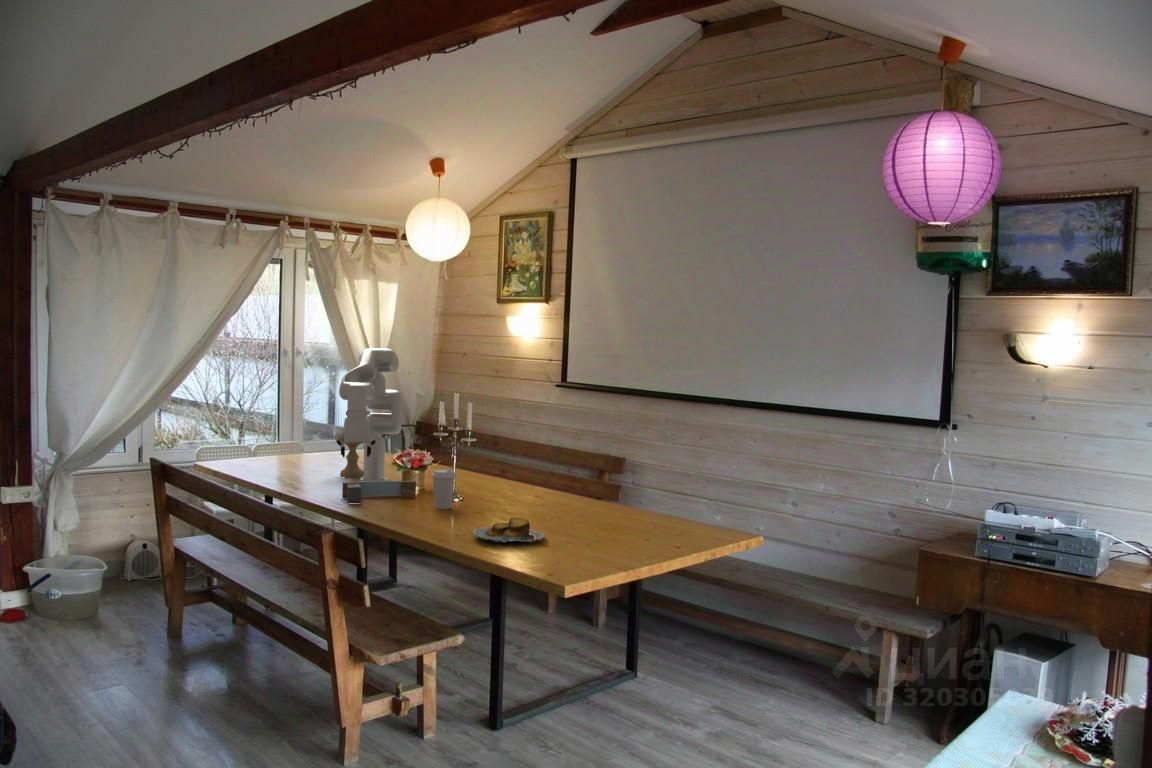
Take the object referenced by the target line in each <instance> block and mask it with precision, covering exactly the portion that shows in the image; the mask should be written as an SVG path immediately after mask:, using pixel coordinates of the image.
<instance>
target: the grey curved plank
mask: <svg viewBox="0 0 1152 768" xmlns="http://www.w3.org/2000/svg"><path fill="white" fill-rule="evenodd" d="M401 481H402V480H388V481H360V480H359V481H357V482H358V484H360V486H361V497H376V496H377V497H379V496H384V497H385V496H401Z"/></svg>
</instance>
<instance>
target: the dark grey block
mask: <svg viewBox="0 0 1152 768" xmlns="http://www.w3.org/2000/svg"><path fill="white" fill-rule="evenodd" d="M346 502H348V503H361V502H362V496H361V486H360V484H347V499H346ZM348 503H347V504H348ZM361 504H362V503H361Z"/></svg>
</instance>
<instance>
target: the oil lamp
mask: <svg viewBox="0 0 1152 768" xmlns="http://www.w3.org/2000/svg"><path fill="white" fill-rule="evenodd" d="M345 415H346V416H347V410H346V411H345ZM343 429H344V427H343V428H342V430H340V431H339V432H338V433H337V434H339V433H341V432H343ZM338 439H339V441H340V442H341V443H342V442H343V441H344V440H343V436H341V437H339V438H338ZM361 444H363V443H346V444H345V445H346V446H347V447H348V449H349V451H348V453H347V455H345V459H346V461H347V463H346V465H345V467H344V468H343V469H342V470H340V473H339V477H340V476H341V477H345V478H344V479H347V478H356V479H360V477H363V476H364V469H361V468H360V466H359V465H358V460H359V458H360V455H358V453H357V448H358V446H359V445H361ZM341 477H340V478H341Z"/></svg>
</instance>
